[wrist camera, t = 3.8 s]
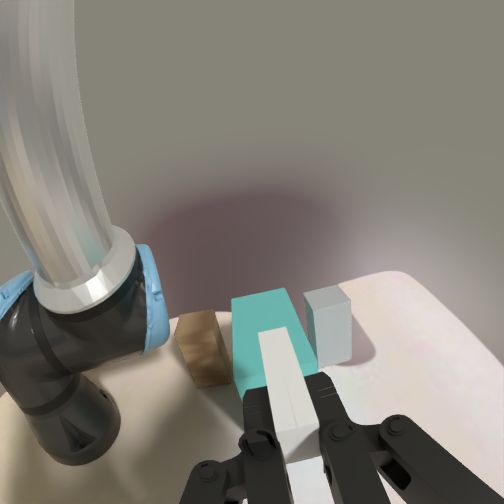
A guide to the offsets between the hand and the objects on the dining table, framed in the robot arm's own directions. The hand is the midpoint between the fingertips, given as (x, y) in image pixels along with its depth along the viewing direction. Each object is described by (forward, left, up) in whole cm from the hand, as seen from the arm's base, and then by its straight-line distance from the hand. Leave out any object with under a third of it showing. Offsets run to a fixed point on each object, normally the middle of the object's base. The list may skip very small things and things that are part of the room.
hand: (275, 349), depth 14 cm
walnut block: (-9, +19, -18) cm, 28 cm away
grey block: (+8, +18, -18) cm, 27 cm away
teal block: (0, +12, -18) cm, 22 cm away
